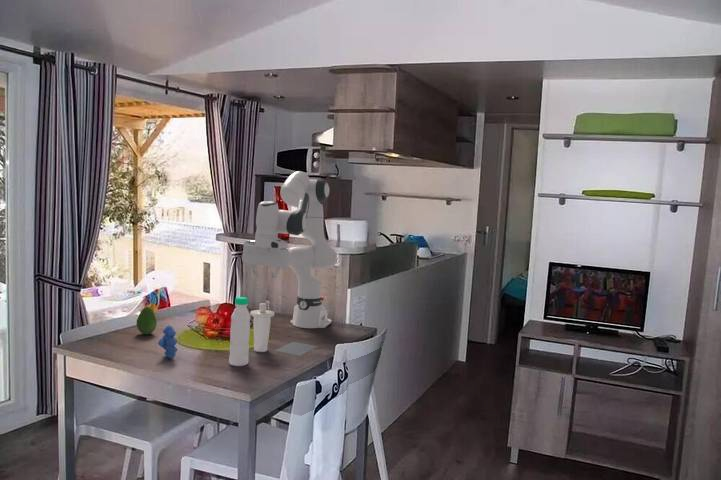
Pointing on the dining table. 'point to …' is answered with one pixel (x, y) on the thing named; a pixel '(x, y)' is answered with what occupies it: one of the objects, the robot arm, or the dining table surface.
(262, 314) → the lid
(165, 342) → the grapes
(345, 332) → the dining table surface
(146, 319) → the avocado
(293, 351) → the mat
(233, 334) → the water bottle
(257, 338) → the drinking glass
